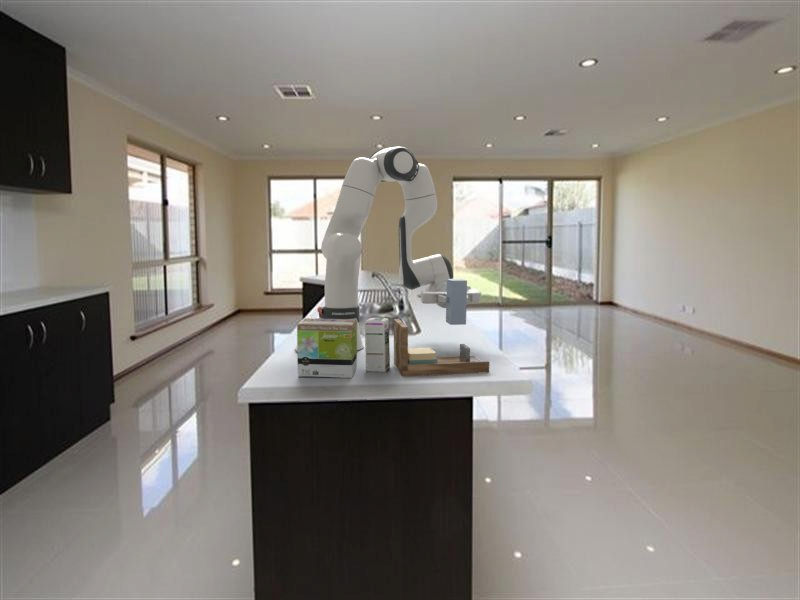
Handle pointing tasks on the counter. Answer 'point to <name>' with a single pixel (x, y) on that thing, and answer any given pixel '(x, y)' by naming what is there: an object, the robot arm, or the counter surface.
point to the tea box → (327, 347)
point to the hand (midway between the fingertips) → (456, 299)
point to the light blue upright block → (456, 301)
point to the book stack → (421, 356)
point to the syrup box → (377, 344)
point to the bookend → (466, 354)
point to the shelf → (440, 368)
